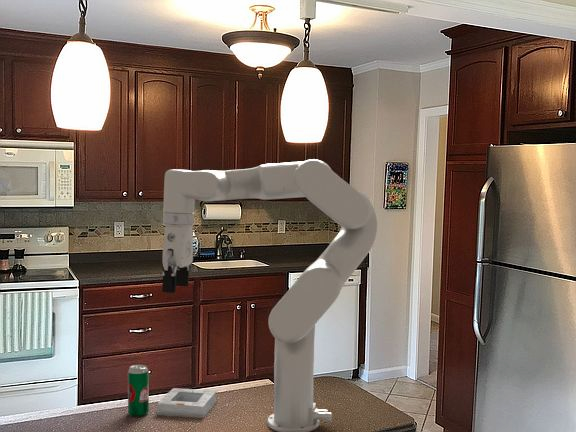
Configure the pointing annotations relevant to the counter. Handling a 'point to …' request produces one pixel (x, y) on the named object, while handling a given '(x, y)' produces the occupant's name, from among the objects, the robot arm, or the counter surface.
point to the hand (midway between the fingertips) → (175, 289)
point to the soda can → (138, 390)
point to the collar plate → (186, 403)
